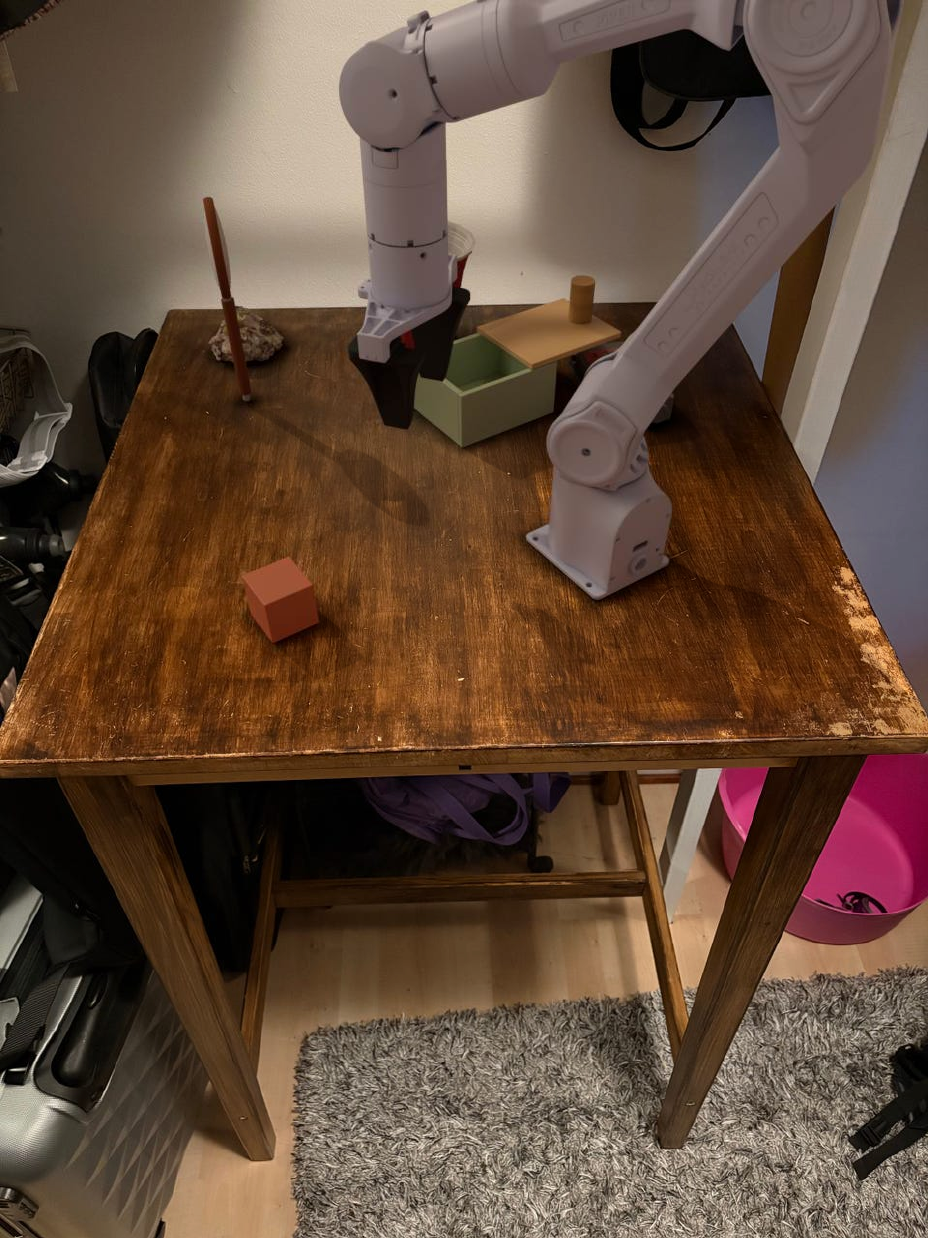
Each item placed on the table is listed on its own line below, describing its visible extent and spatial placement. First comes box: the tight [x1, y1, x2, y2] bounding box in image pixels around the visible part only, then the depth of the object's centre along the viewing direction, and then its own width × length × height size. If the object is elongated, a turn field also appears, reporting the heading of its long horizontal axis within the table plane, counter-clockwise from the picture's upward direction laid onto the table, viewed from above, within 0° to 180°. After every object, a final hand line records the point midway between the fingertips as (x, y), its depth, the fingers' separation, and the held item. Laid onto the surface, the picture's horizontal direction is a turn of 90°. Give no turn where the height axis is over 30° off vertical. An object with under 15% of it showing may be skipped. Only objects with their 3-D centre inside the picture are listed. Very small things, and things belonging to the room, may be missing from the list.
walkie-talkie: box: [567, 341, 675, 424], centre depth 89 cm, size 9×4×20 cm
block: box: [241, 556, 320, 644], centre depth 69 cm, size 4×4×4 cm
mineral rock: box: [207, 305, 285, 363], centre depth 101 cm, size 11×4×8 cm
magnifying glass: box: [202, 196, 252, 402], centre depth 86 cm, size 9×2×20 cm, turn 14°
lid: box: [476, 274, 622, 369], centre depth 89 cm, size 9×11×5 cm
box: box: [414, 332, 558, 449], centre depth 90 cm, size 9×11×6 cm
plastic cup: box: [400, 220, 477, 349], centre depth 98 cm, size 11×11×12 cm
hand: (415, 400), depth 73 cm, fingers open, 7 cm apart
